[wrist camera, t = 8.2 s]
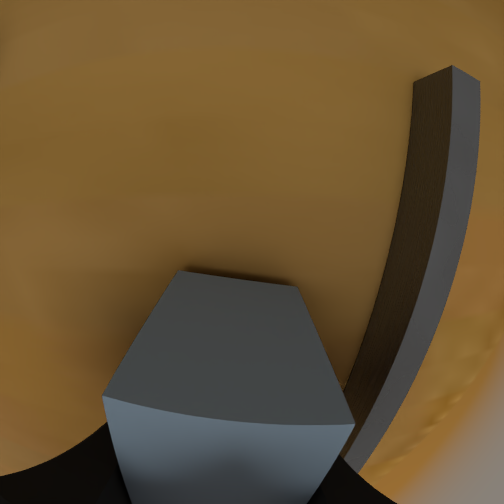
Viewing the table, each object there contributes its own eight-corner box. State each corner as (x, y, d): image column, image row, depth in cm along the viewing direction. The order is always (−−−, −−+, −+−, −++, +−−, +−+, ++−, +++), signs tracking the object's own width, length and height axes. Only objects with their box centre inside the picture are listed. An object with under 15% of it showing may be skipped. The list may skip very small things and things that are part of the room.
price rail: (307, 508, 18) (311, 535, 15) (283, 509, 18) (286, 537, 15) (449, 98, 10) (489, 87, 7) (414, 82, 10) (452, 65, 7)
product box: (298, 286, 11) (357, 424, 5) (259, 440, 14) (266, 555, 7) (178, 270, 11) (101, 395, 4) (173, 430, 13) (148, 542, 7)
